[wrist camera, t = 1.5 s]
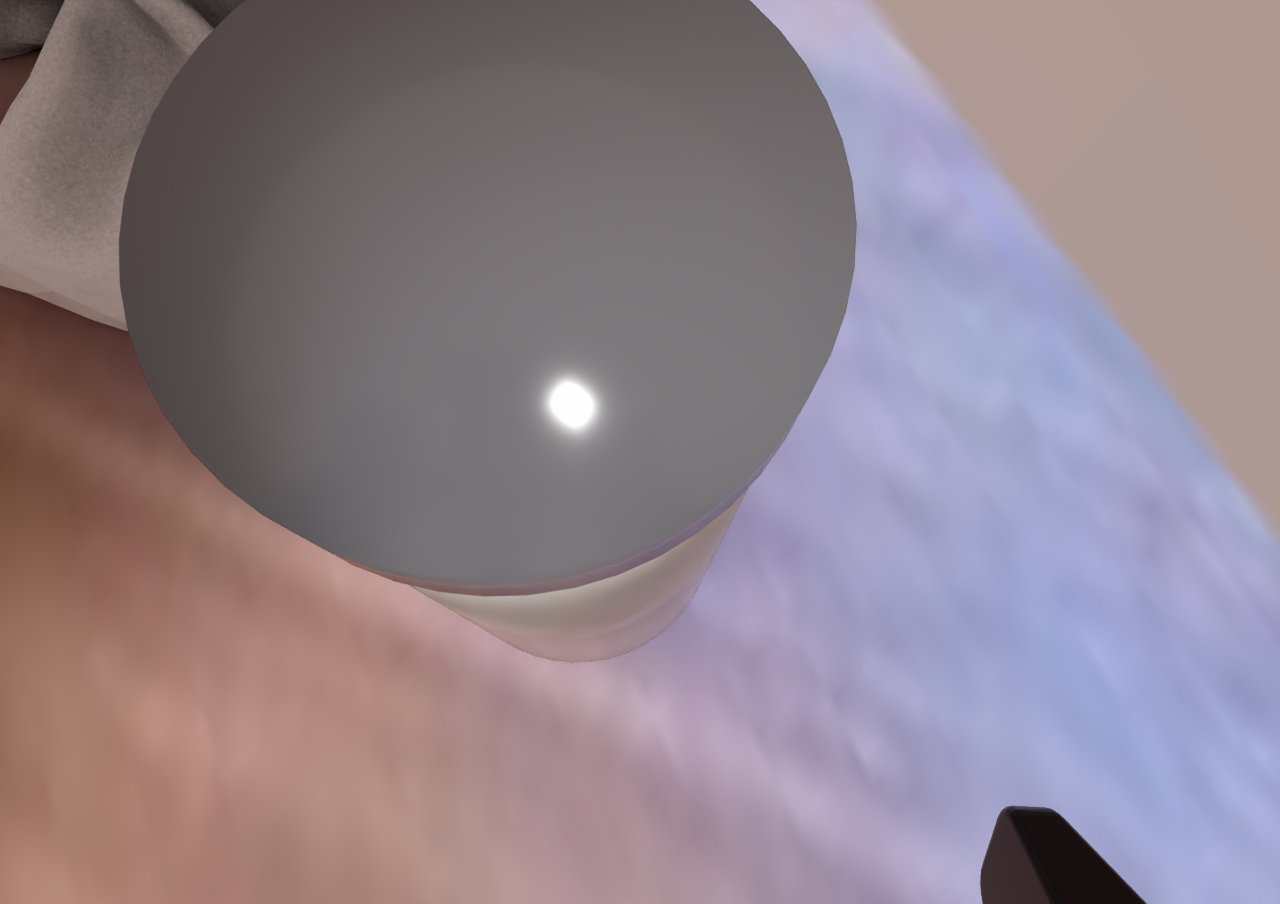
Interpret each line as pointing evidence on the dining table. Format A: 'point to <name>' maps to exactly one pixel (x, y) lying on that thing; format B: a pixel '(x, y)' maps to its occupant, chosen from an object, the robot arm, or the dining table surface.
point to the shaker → (493, 289)
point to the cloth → (83, 136)
